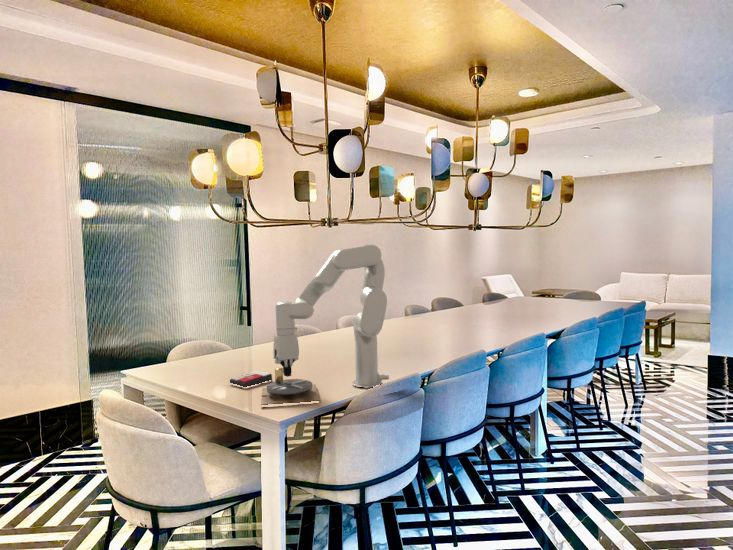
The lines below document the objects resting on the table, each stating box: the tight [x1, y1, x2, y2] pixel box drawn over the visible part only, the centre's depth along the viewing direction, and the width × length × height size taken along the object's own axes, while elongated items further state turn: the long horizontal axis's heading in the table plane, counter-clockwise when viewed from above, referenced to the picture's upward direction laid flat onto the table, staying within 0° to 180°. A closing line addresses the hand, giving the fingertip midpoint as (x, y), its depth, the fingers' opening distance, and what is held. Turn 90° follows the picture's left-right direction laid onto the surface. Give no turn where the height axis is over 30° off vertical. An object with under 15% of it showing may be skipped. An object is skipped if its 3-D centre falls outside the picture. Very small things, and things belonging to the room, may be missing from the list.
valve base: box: [260, 383, 321, 406], centre depth 202 cm, size 22×22×2 cm
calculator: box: [229, 370, 273, 387], centre depth 225 cm, size 11×4×15 cm
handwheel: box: [266, 367, 313, 396], centre depth 202 cm, size 18×18×9 cm
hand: (287, 375), depth 209 cm, fingers closed
